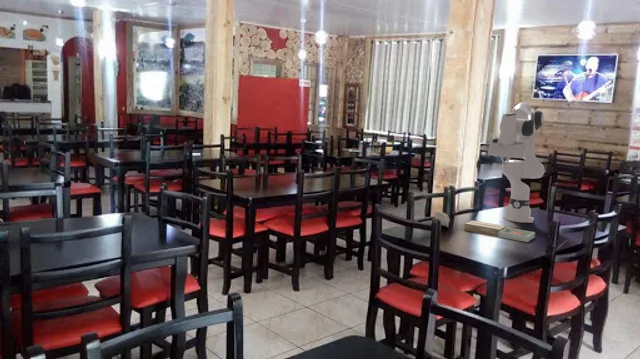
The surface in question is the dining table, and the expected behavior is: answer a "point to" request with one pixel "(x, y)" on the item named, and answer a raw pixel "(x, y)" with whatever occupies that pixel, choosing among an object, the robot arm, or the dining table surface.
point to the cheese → (442, 218)
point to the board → (483, 227)
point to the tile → (516, 233)
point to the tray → (526, 234)
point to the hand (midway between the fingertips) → (504, 164)
